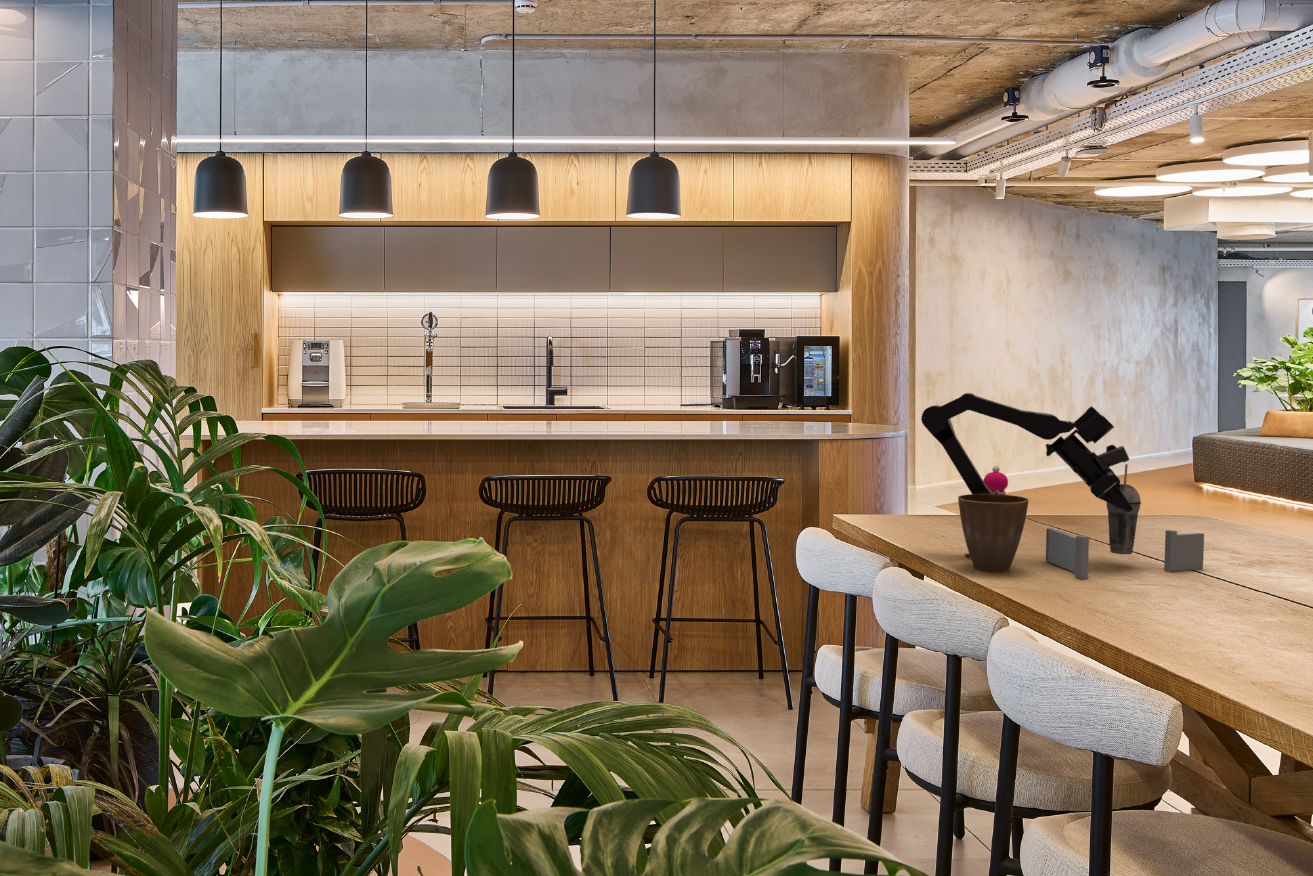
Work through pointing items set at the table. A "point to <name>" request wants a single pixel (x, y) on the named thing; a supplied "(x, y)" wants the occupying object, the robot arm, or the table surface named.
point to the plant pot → (992, 528)
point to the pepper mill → (996, 481)
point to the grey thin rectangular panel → (1061, 549)
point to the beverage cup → (1123, 520)
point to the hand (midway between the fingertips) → (1129, 508)
